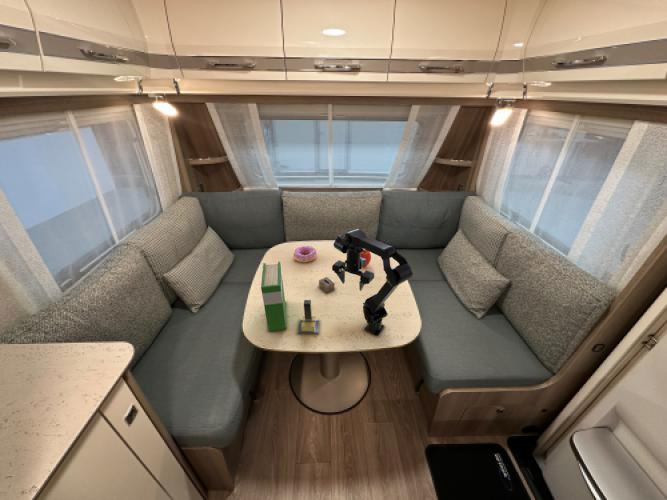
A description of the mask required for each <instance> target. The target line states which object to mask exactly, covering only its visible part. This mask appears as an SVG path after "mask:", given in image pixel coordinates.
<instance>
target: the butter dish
mask: <svg viewBox="0 0 667 500" xmlns="http://www.w3.org/2000/svg"><path fill="white" fill-rule="evenodd" d="M319 326H320V320H319V319H317V318H316V315H312V322H305V315H303V316H302V319H300V321H299V325H298V332H297V333H298V334H299V335H300V334H301V335H305V334H306V335H307V334H308V335H309V334H310V335H318V334H319V328H320V327H319Z"/></svg>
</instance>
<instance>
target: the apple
mask: <svg viewBox="0 0 667 500" xmlns="http://www.w3.org/2000/svg"><path fill="white" fill-rule="evenodd" d="M360 257H362V258H364V259H366V264H365V266H362V268H366V267H368V265H369V264H370V262H371V260H372V254H371V252H369V251H367V250H365V249H364V252H361V253H360Z"/></svg>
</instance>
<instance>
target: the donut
mask: <svg viewBox="0 0 667 500" xmlns="http://www.w3.org/2000/svg"><path fill="white" fill-rule="evenodd" d="M293 258H294V260H295V261H297V262H299V263H309V262H313V261H314V260H316V258H317V250H316V248H315V247H313V246H311V245H310V246H309V245H304V246H300V247H297V248H295V249H294V252H293Z"/></svg>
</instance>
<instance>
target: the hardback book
mask: <svg viewBox="0 0 667 500" xmlns="http://www.w3.org/2000/svg"><path fill="white" fill-rule="evenodd" d="M260 290H261V295H262V302H263V307H264V312H265V317H266V324H267V329H268V332H274V331H280V330H287V319H286V318H287V317H286V316H287V315H286V314H287V313H286V311H287V310H286V297H285V289H284V280H283V273H282V265H281V261H277V263H273V264H266V262H263V263H262V272H261V284H260Z"/></svg>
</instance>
